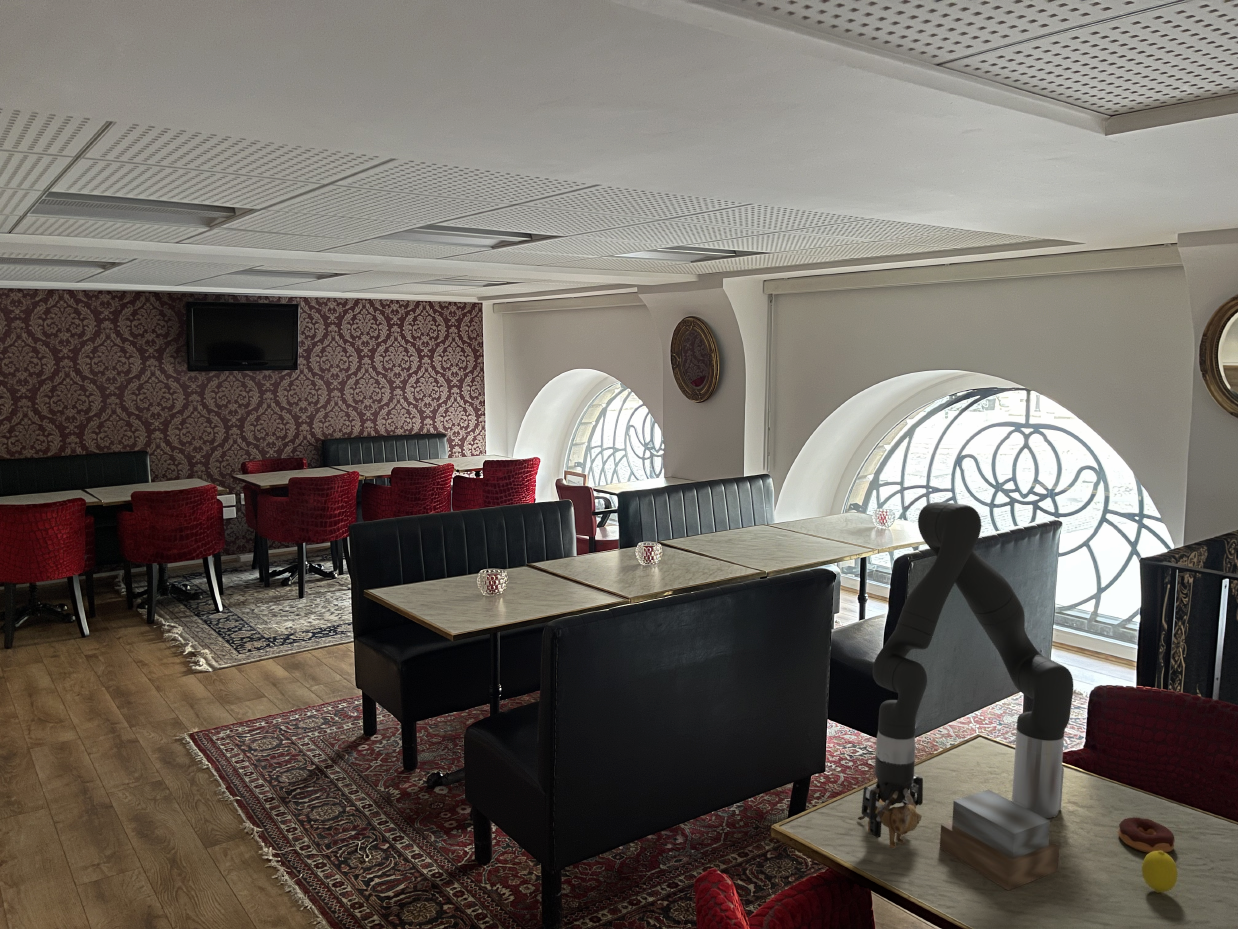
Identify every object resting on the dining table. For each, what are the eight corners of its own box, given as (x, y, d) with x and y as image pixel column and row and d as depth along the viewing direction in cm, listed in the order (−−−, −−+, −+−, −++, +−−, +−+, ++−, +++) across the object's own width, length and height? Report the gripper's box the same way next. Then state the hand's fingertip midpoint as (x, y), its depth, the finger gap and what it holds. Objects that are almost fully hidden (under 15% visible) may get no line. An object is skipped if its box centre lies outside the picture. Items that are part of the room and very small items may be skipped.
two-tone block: (988, 831, 186) (991, 785, 185) (1058, 870, 172) (1061, 821, 171) (939, 848, 180) (942, 800, 178) (1008, 890, 166) (1011, 839, 164)
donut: (1120, 826, 189) (1122, 808, 189) (1175, 841, 184) (1177, 822, 183) (1114, 847, 181) (1115, 828, 181) (1171, 863, 176) (1173, 844, 175)
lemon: (1133, 884, 168) (1137, 843, 167) (1161, 883, 169) (1165, 842, 168) (1153, 902, 163) (1157, 860, 162) (1182, 900, 163) (1186, 859, 162)
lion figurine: (924, 849, 179) (926, 806, 178) (906, 857, 176) (909, 813, 175) (865, 817, 191) (867, 777, 190) (848, 825, 188) (850, 783, 187)
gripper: (907, 740, 187) (903, 814, 189) (854, 753, 181) (851, 830, 183) (935, 754, 181) (931, 831, 183) (882, 769, 174) (878, 848, 176)
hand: (891, 831), depth 183 cm, fingers open, 8 cm apart
